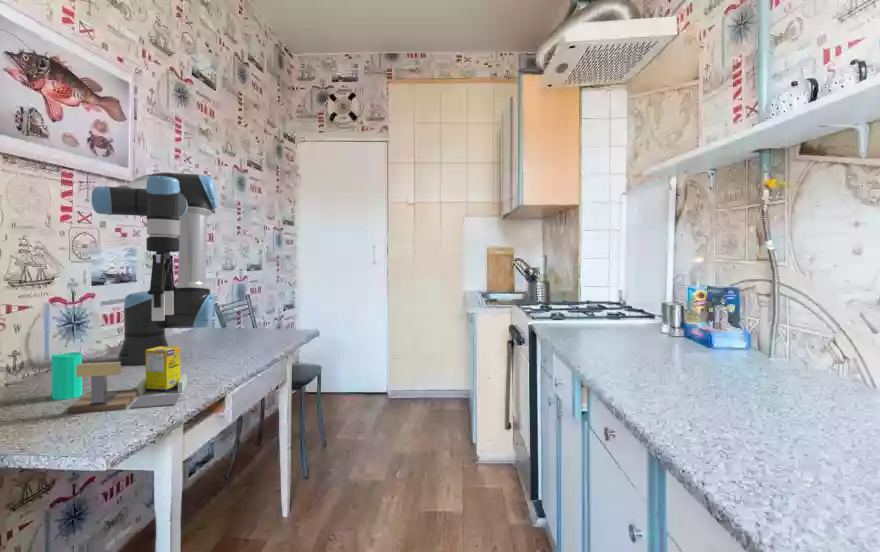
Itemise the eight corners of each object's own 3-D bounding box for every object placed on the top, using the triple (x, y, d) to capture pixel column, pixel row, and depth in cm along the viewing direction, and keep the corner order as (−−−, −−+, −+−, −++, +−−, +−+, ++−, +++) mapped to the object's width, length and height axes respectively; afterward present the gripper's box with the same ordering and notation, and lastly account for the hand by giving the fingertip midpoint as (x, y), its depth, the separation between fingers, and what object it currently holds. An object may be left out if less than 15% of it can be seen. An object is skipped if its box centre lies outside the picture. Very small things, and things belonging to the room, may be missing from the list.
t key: (80, 401, 111) (79, 363, 111) (121, 398, 114) (120, 361, 114) (76, 404, 109) (76, 365, 109) (118, 401, 112) (118, 363, 111)
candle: (50, 401, 117) (49, 351, 117) (53, 394, 122) (52, 347, 122) (81, 397, 120) (81, 349, 120) (83, 391, 125) (82, 345, 125)
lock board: (87, 397, 120) (87, 391, 120) (138, 394, 124) (138, 387, 124) (67, 413, 108) (67, 406, 108) (125, 409, 112) (125, 402, 112)
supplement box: (181, 386, 132) (181, 346, 132) (166, 392, 126) (166, 350, 126) (160, 385, 132) (160, 345, 132) (145, 391, 127) (144, 349, 126)
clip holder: (145, 386, 132) (145, 376, 132) (186, 383, 135) (186, 374, 135) (137, 395, 123) (137, 385, 123) (182, 391, 127) (182, 382, 127)
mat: (139, 397, 121) (139, 396, 121) (180, 395, 124) (180, 393, 124) (130, 408, 112) (130, 407, 112) (174, 405, 115) (174, 403, 115)
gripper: (156, 238, 138) (156, 312, 139) (135, 233, 115) (135, 323, 115) (185, 238, 141) (185, 312, 141) (171, 234, 117) (171, 322, 118)
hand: (163, 317), depth 128 cm, fingers open, 13 cm apart
